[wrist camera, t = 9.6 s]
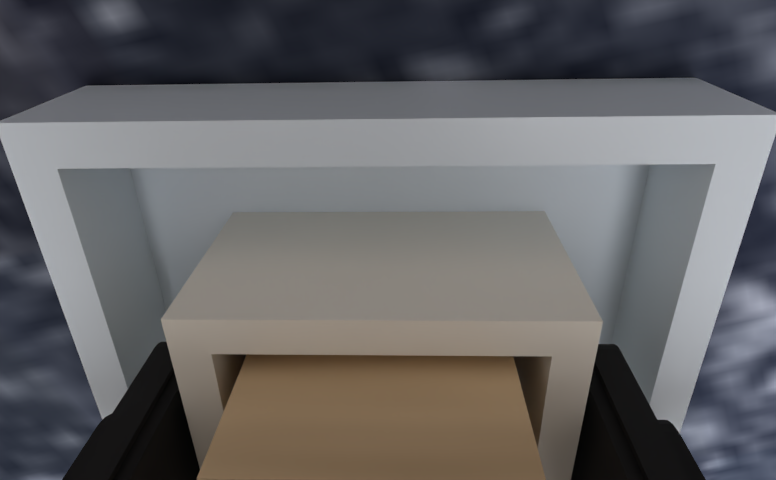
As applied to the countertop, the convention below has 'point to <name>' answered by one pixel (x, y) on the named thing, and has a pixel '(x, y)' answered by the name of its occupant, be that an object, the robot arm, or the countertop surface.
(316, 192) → the tray
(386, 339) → the cream square open box
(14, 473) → the countertop surface
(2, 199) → the countertop surface
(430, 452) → the block
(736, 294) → the countertop surface
